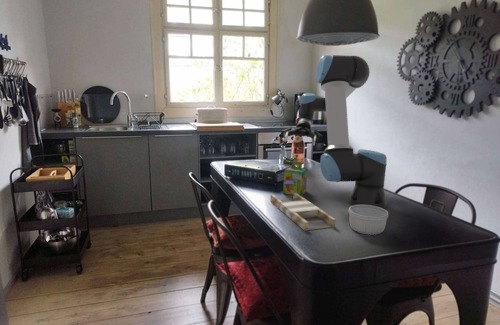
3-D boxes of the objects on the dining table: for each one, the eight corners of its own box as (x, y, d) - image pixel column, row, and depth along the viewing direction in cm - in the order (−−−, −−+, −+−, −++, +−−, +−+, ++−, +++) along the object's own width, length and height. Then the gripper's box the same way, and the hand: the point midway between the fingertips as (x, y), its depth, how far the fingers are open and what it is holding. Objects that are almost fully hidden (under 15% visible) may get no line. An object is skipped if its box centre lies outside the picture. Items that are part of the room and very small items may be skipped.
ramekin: (342, 221, 129) (343, 204, 127) (376, 221, 130) (378, 203, 128) (355, 236, 116) (357, 217, 114) (393, 236, 117) (395, 217, 115)
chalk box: (282, 194, 161) (283, 163, 158) (288, 189, 169) (289, 159, 166) (302, 196, 158) (303, 165, 155) (306, 191, 166) (308, 161, 163)
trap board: (270, 201, 150) (270, 194, 150) (295, 199, 154) (295, 192, 153) (304, 230, 120) (305, 222, 119) (335, 227, 123) (335, 219, 123)
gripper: (326, 137, 181) (325, 151, 162) (279, 131, 186) (273, 144, 167) (329, 123, 178) (327, 136, 159) (281, 117, 183) (274, 130, 164)
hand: (299, 140), depth 163 cm, fingers open, 13 cm apart
